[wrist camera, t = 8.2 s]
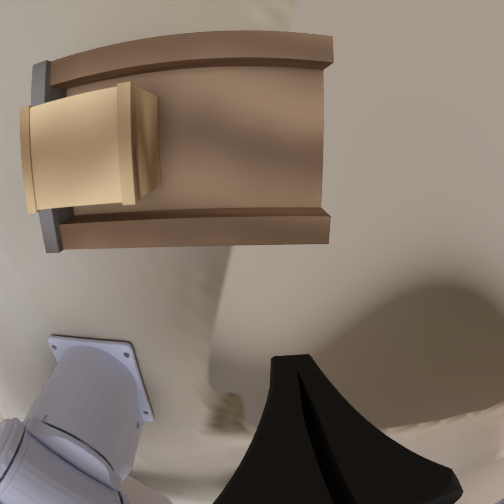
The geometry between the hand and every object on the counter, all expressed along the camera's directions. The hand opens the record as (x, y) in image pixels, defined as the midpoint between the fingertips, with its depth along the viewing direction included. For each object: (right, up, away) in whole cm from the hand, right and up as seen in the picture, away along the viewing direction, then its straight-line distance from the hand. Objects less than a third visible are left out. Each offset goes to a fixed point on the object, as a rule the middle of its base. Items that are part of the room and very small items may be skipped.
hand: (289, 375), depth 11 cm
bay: (-5, +11, +6) cm, 14 cm away
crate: (-9, +10, +5) cm, 15 cm away
